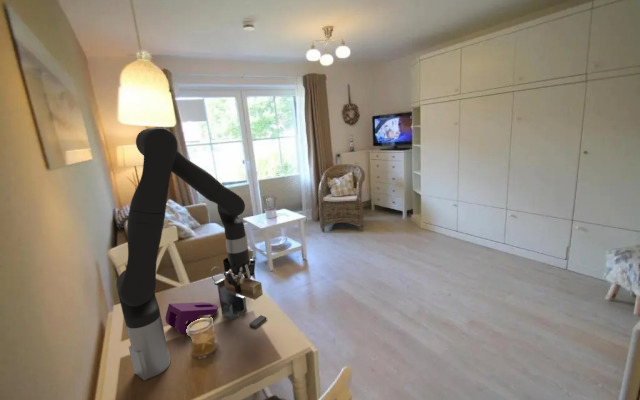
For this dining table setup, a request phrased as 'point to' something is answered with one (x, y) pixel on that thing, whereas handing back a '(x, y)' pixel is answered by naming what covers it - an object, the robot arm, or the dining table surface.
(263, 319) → the far saddle
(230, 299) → the cup bracket
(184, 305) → the mounting bracket
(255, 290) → the brown wooden block
